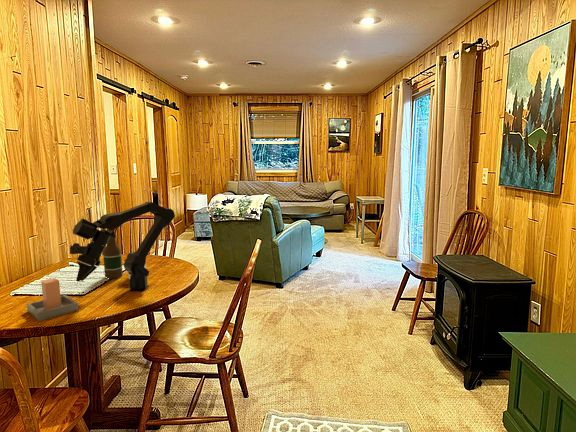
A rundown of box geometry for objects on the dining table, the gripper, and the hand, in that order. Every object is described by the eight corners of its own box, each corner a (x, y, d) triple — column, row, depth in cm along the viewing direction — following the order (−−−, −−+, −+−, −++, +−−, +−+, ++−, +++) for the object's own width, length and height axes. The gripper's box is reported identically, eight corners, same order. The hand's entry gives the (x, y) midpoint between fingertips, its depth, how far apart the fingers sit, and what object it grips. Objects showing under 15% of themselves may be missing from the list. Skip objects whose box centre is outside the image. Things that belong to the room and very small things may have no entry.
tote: (65, 302, 158) (65, 294, 157) (78, 310, 149) (77, 303, 148) (27, 311, 148) (26, 303, 148) (38, 321, 139) (37, 313, 139)
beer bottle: (126, 275, 193) (123, 226, 189) (114, 280, 185) (111, 229, 182) (113, 274, 195) (110, 226, 191) (101, 278, 188) (97, 228, 184)
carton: (57, 305, 152) (54, 278, 150) (61, 308, 148) (59, 280, 147) (43, 309, 148) (41, 280, 147) (47, 312, 145) (45, 283, 143)
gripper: (81, 237, 165) (62, 273, 161) (73, 234, 147) (52, 273, 143) (107, 248, 168) (90, 283, 164) (103, 245, 150) (83, 284, 146)
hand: (79, 280), depth 154 cm, fingers open, 9 cm apart
